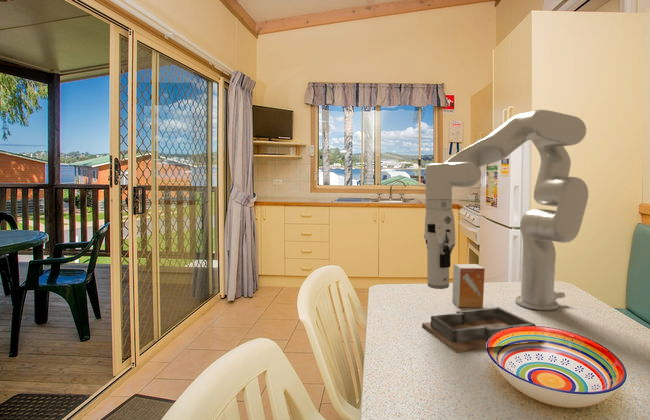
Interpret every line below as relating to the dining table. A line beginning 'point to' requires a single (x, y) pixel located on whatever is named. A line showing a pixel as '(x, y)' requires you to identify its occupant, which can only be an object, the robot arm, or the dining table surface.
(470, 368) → the dining table surface
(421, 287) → the dining table surface
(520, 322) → the keyhole cradle
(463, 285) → the small box
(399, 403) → the dining table surface
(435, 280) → the travel mug
